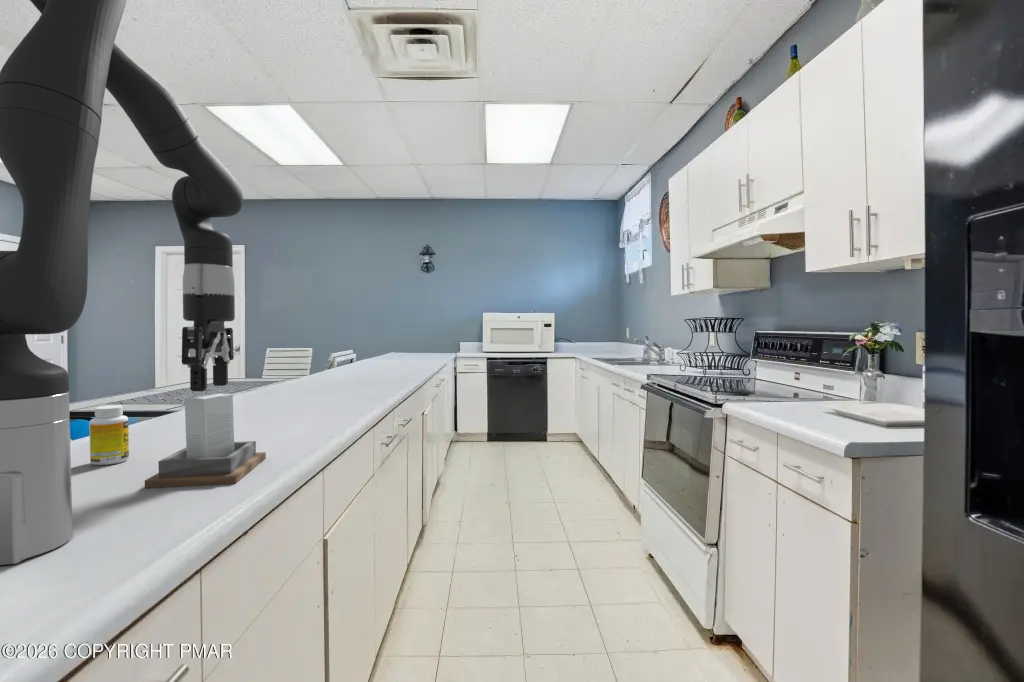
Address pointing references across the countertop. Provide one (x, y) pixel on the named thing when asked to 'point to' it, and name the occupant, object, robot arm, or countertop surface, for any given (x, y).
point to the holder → (206, 468)
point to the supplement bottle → (109, 436)
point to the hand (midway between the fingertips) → (210, 388)
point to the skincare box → (209, 425)
